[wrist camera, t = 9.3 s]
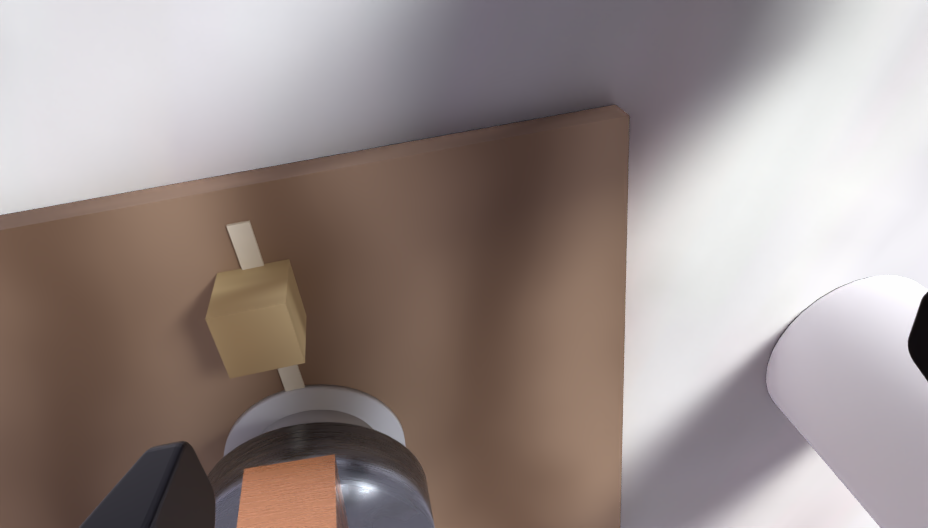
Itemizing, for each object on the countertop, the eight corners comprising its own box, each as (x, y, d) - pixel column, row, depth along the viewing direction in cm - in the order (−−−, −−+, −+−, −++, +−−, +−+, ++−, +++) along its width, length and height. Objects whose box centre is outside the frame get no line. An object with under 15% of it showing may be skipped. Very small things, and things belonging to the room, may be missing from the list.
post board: (615, 104, 19) (665, 143, 16) (611, 531, 29) (640, 597, 27) (-203, 251, 17) (-303, 325, 14) (113, 653, 27) (90, 739, 25)
